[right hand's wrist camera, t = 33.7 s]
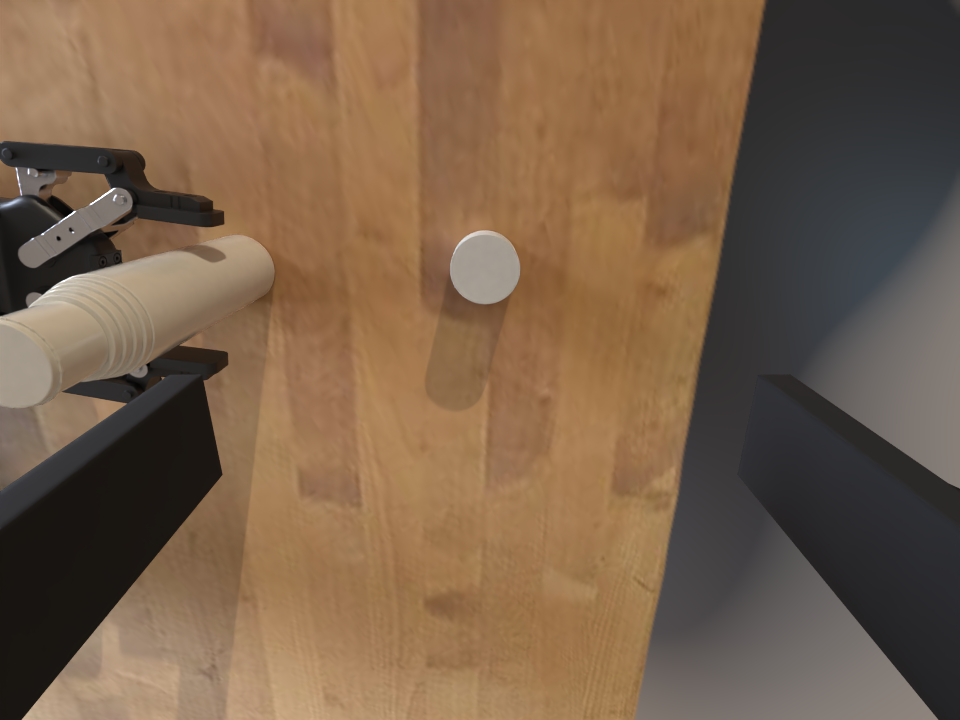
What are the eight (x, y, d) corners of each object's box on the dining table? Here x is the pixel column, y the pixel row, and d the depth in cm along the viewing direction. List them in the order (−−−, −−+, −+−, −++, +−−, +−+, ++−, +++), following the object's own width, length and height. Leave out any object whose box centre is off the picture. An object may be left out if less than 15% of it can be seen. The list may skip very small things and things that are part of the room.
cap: (438, 265, 36) (435, 271, 34) (484, 215, 35) (483, 218, 33) (486, 309, 37) (486, 318, 35) (531, 262, 36) (535, 268, 34)
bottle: (213, 224, 35) (-67, 283, 17) (281, 247, 36) (76, 326, 18) (203, 289, 37) (-65, 404, 19) (268, 309, 37) (68, 441, 19)
